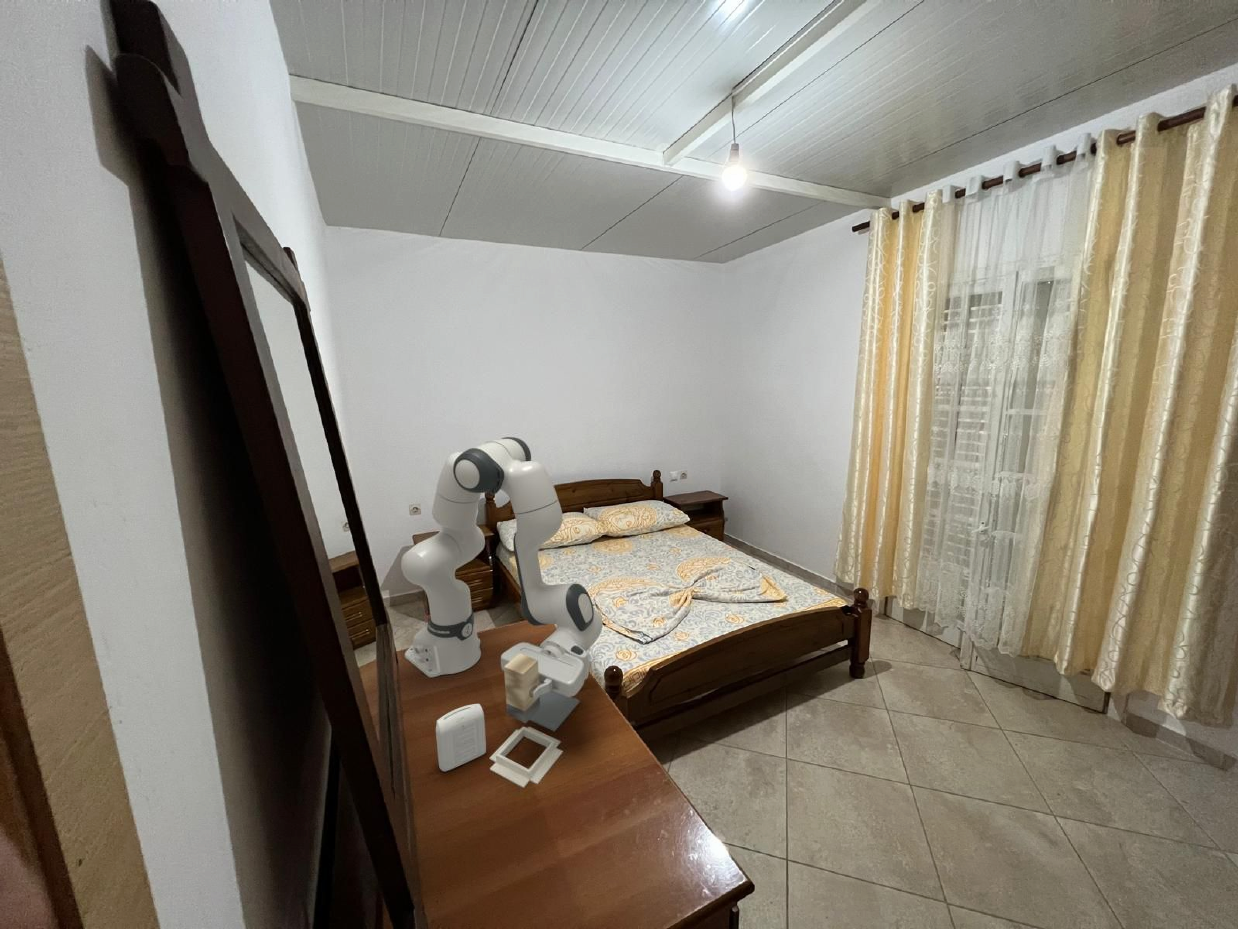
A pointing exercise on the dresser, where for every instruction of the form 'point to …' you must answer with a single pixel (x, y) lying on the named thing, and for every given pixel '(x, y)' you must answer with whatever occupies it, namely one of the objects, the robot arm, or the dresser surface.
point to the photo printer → (460, 736)
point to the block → (521, 687)
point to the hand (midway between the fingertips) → (519, 690)
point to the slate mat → (553, 709)
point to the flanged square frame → (519, 772)
